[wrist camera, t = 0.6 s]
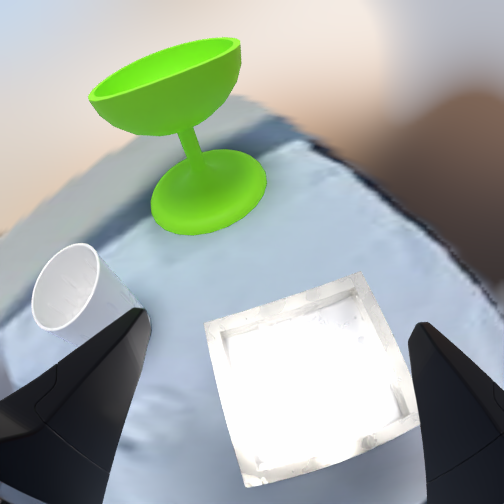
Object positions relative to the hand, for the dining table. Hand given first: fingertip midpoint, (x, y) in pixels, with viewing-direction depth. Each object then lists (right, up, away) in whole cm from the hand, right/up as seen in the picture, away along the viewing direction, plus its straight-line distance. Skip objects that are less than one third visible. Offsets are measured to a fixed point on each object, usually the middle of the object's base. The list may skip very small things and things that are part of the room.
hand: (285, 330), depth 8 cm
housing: (+4, -9, +12) cm, 15 cm away
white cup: (-14, -6, +18) cm, 24 cm away
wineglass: (-7, +11, +28) cm, 31 cm away
